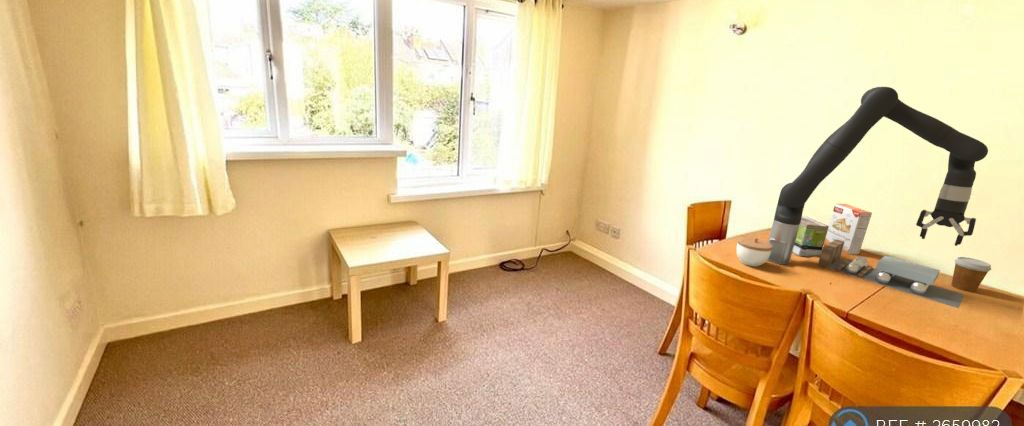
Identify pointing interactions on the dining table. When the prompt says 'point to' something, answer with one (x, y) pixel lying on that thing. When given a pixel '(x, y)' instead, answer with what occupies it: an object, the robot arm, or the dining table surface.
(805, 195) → the robot arm
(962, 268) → the disposable coffee cup
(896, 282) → the mat
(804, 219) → the tea box
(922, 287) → the bed rollers
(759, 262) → the lidded bowl
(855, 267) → the roller
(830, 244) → the wooden stops
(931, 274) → the slab
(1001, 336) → the dining table surface
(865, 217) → the cracker box
